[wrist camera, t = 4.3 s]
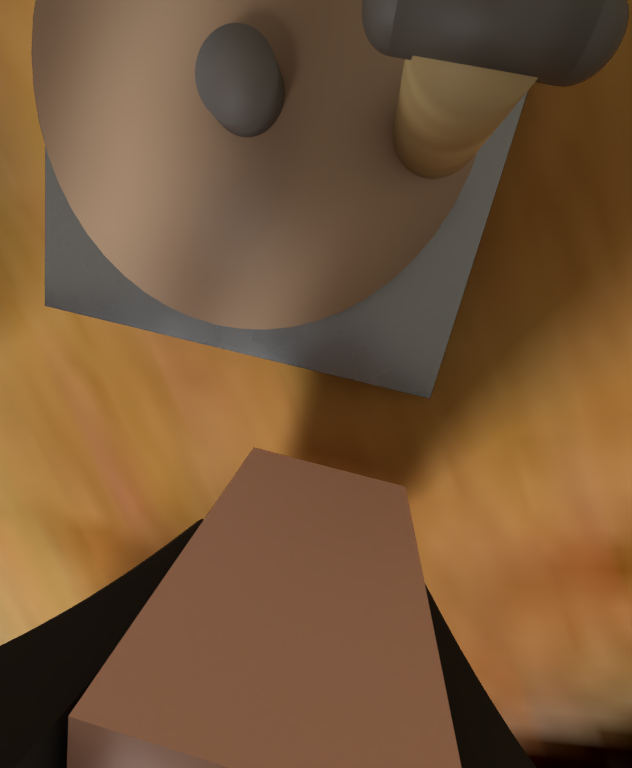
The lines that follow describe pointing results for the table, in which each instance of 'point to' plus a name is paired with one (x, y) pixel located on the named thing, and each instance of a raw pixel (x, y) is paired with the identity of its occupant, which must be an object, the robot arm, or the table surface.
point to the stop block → (279, 638)
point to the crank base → (316, 339)
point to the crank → (286, 133)
